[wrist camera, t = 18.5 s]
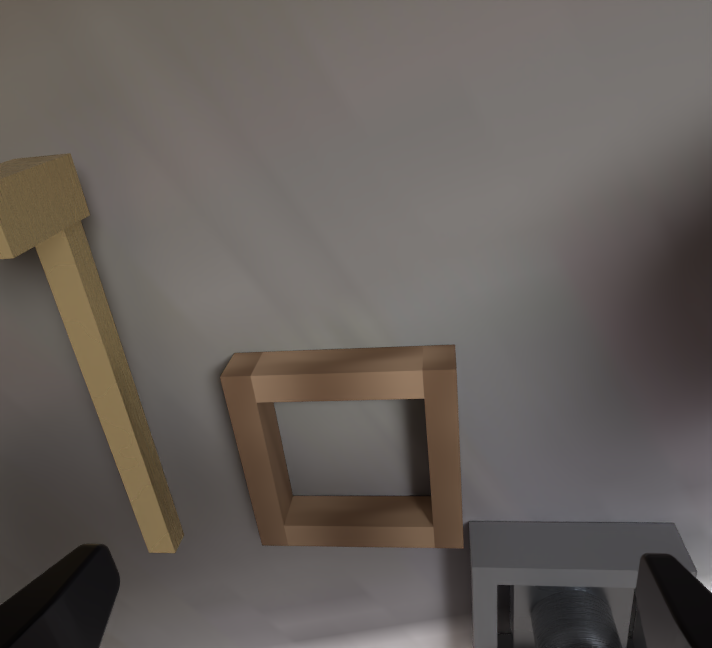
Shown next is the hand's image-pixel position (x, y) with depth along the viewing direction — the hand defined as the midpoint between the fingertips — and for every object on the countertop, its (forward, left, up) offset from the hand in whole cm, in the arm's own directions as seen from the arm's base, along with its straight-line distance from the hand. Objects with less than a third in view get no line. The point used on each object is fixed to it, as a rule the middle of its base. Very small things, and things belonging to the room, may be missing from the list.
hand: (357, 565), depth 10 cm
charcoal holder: (-6, +17, -13) cm, 22 cm away
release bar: (+11, +3, -11) cm, 16 cm away
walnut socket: (+3, +8, -13) cm, 15 cm away
